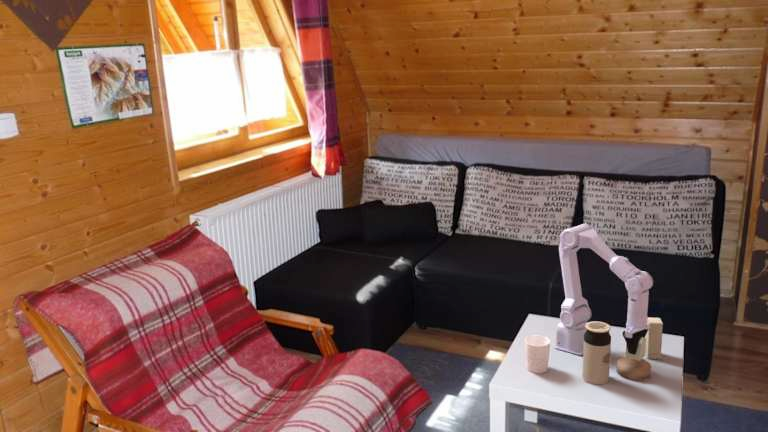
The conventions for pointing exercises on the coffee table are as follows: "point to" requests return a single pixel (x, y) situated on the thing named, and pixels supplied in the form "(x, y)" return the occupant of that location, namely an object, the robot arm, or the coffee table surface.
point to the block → (638, 350)
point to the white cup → (537, 353)
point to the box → (654, 338)
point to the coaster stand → (633, 369)
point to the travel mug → (596, 352)
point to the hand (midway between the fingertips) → (634, 350)
